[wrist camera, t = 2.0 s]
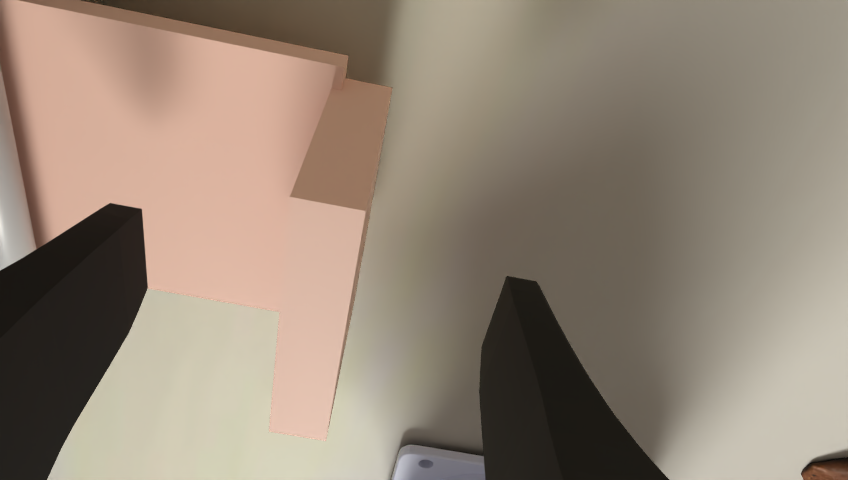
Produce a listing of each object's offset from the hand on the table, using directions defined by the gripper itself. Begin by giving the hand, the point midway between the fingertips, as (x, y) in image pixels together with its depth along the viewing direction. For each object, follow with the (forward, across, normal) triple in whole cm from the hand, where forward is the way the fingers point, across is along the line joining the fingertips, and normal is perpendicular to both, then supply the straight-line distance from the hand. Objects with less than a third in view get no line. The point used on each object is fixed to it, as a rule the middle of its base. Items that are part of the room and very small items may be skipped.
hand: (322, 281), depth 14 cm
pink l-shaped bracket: (+3, +6, 0) cm, 7 cm away
